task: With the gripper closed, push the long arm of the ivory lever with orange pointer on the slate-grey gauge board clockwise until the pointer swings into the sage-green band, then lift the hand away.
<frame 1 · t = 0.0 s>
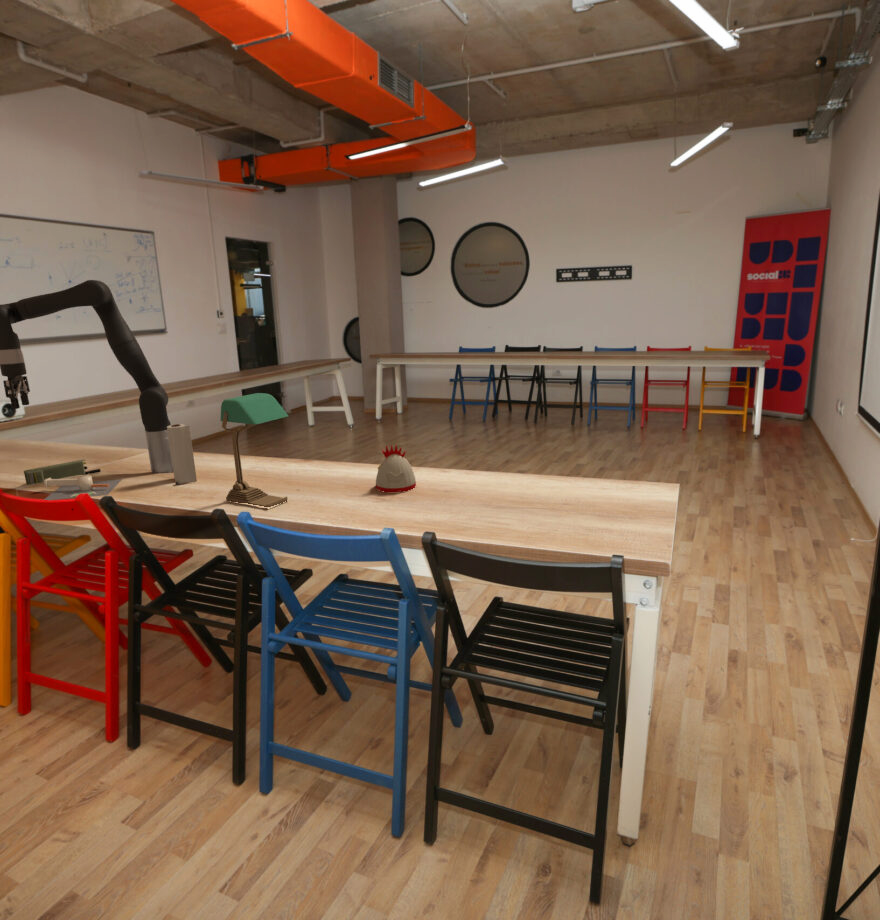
hand: (21, 406, 225), 29 cm above the table, tool pointing down, fingers open, 8 cm apart
banker's lamp: (258, 502, 203), on the table
gauge board: (87, 493, 219), on the table
paper towel roll: (184, 482, 228), on the table
lever with orange pointer: (77, 483, 218), point 4 cm above the table, hinge at 0.0°
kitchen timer: (396, 487, 214), on the table
handheld radio: (65, 480, 236), on the table
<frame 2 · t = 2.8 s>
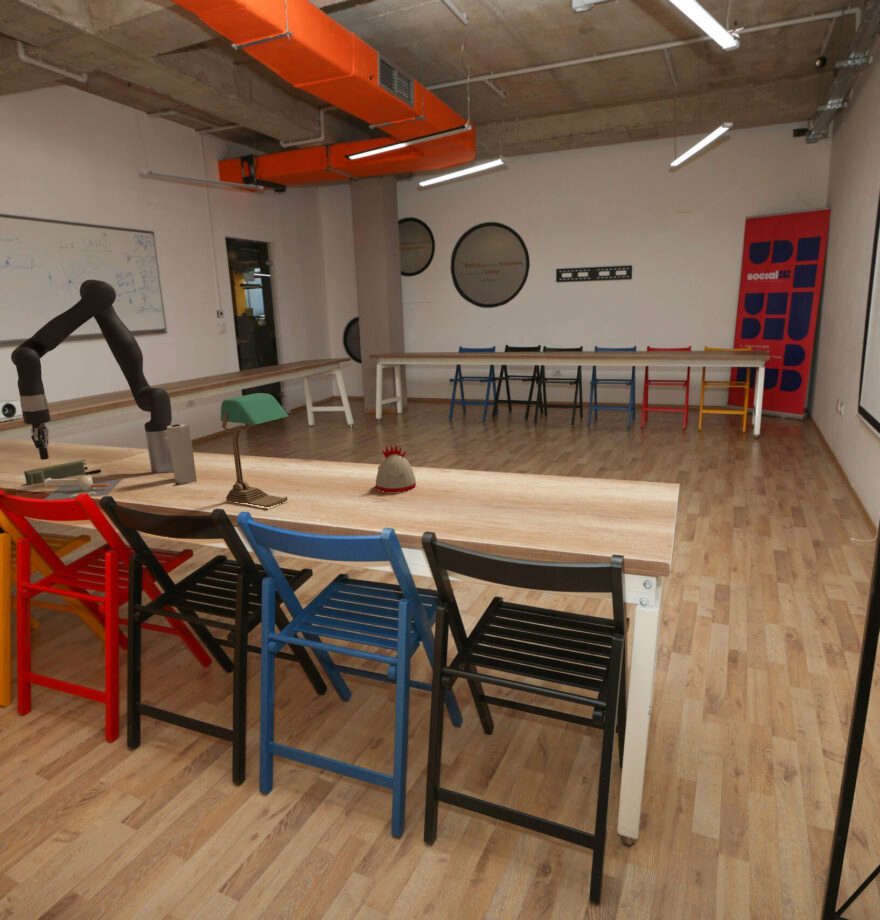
hand: (44, 459, 209), 14 cm above the table, tool pointing down, fingers closed
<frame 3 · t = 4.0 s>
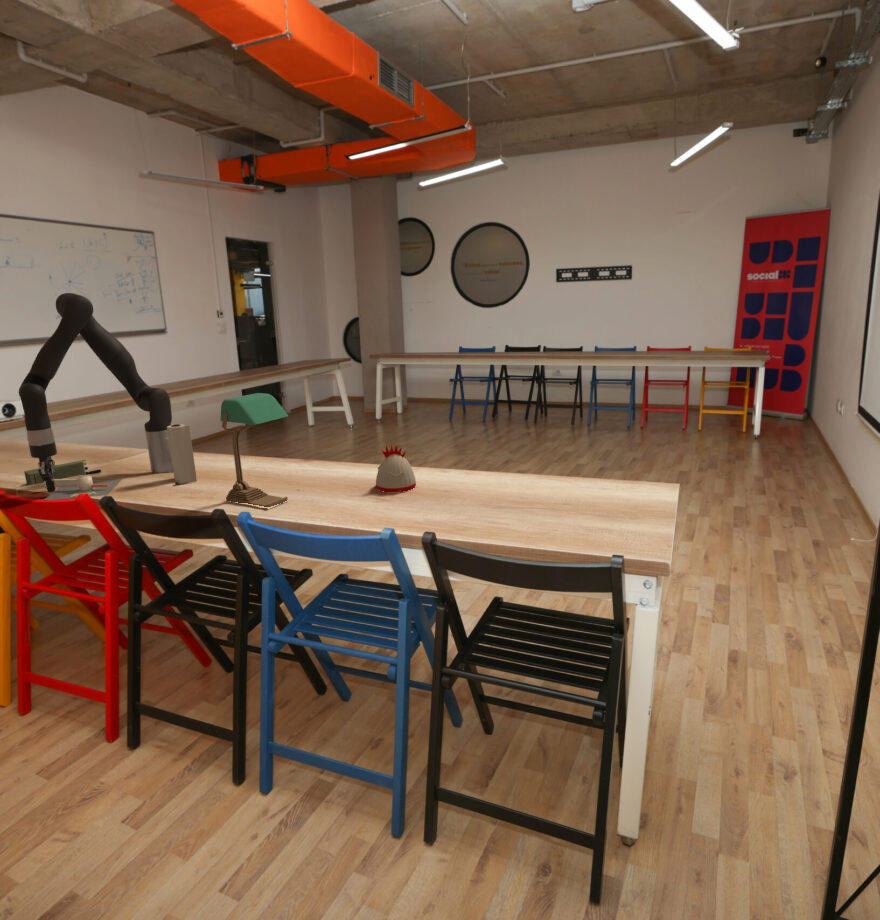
hand: (51, 491, 212), 3 cm above the table, tool pointing down, fingers closed
nothing on the table moved.
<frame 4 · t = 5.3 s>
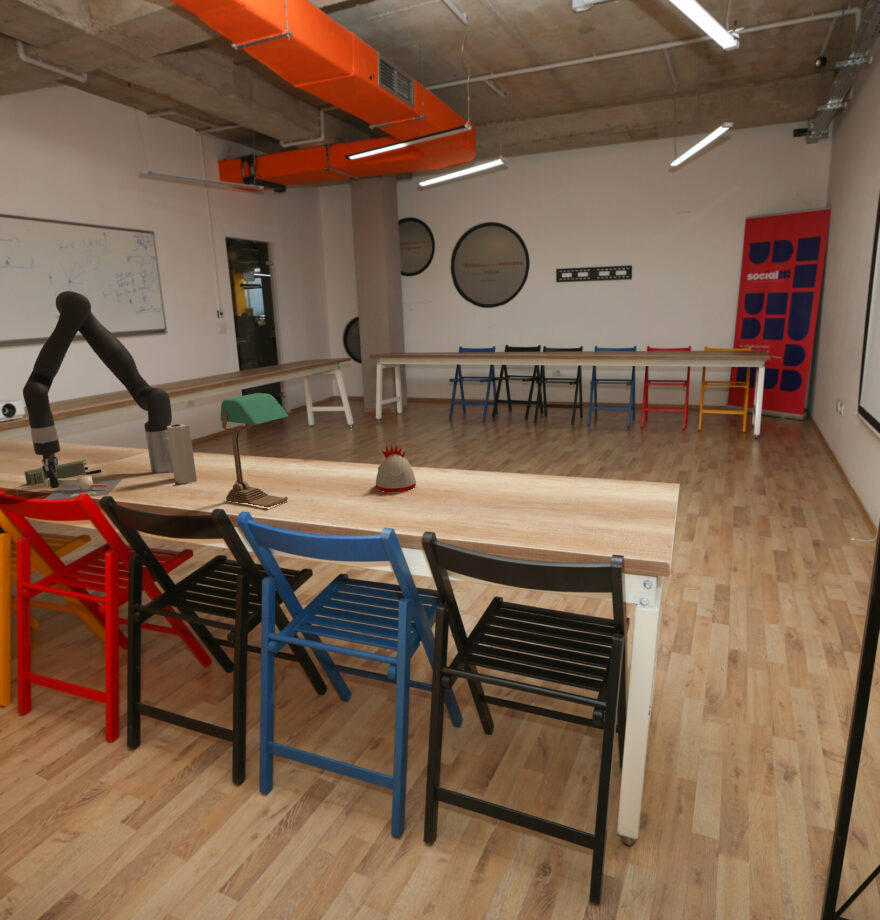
hand: (55, 487, 216), 3 cm above the table, tool pointing down, fingers closed
lever with orange pointer: (77, 483, 218), point 4 cm above the table, hinge at -2.6°, touching gripper
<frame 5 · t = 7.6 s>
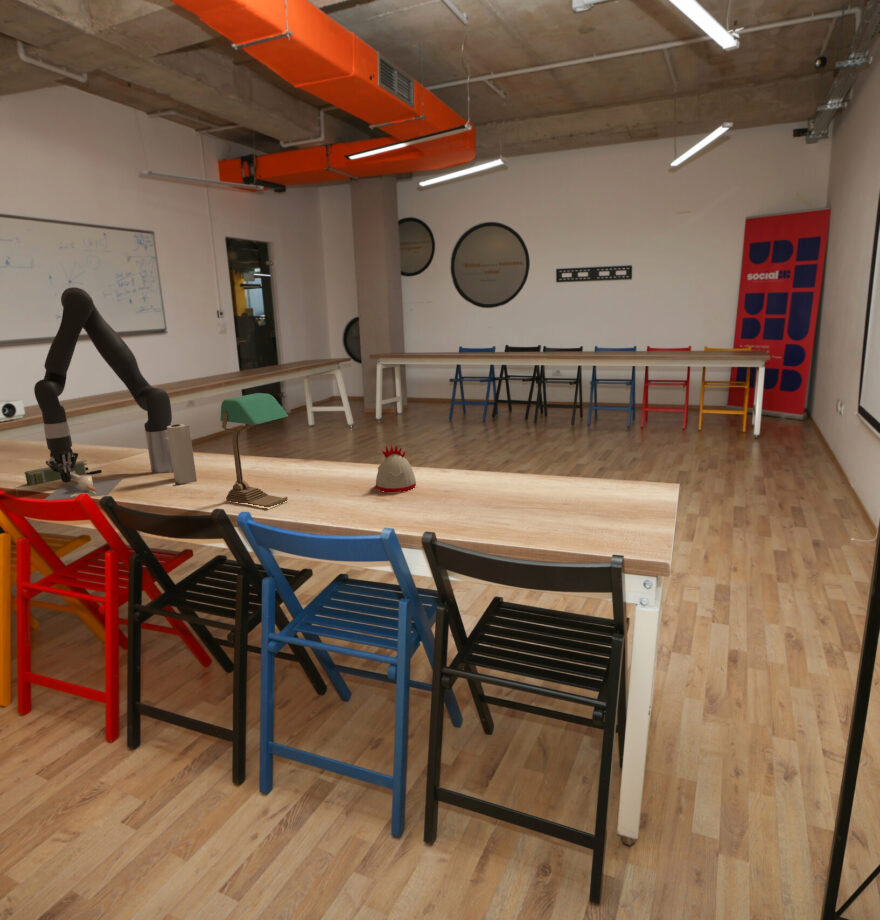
hand: (66, 481, 222), 3 cm above the table, tool pointing down, fingers closed
lever with orange pointer: (82, 481, 219), point 4 cm above the table, hinge at -39.1°, touching gripper
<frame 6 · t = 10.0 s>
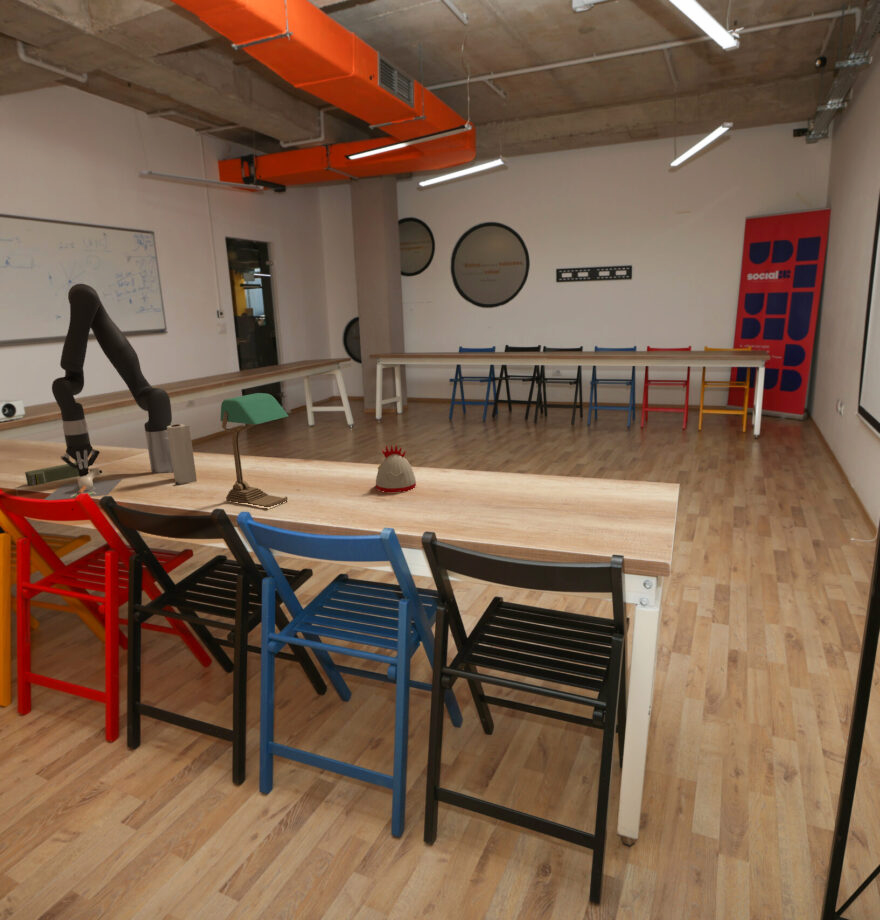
hand: (84, 478, 226), 3 cm above the table, tool pointing down, fingers closed
lever with orange pointer: (87, 480, 220), point 4 cm above the table, hinge at -71.9°, touching gripper
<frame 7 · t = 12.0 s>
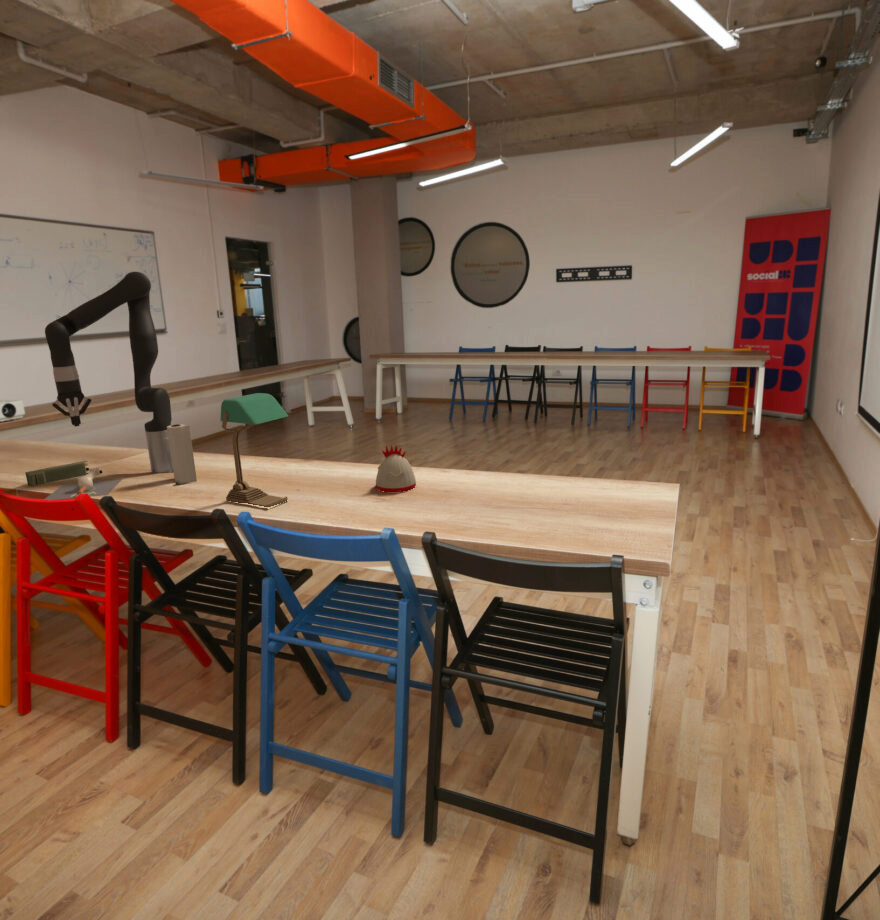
hand: (76, 425, 225), 22 cm above the table, tool pointing down, fingers closed
lever with orange pointer: (87, 480, 220), point 4 cm above the table, hinge at -72.0°
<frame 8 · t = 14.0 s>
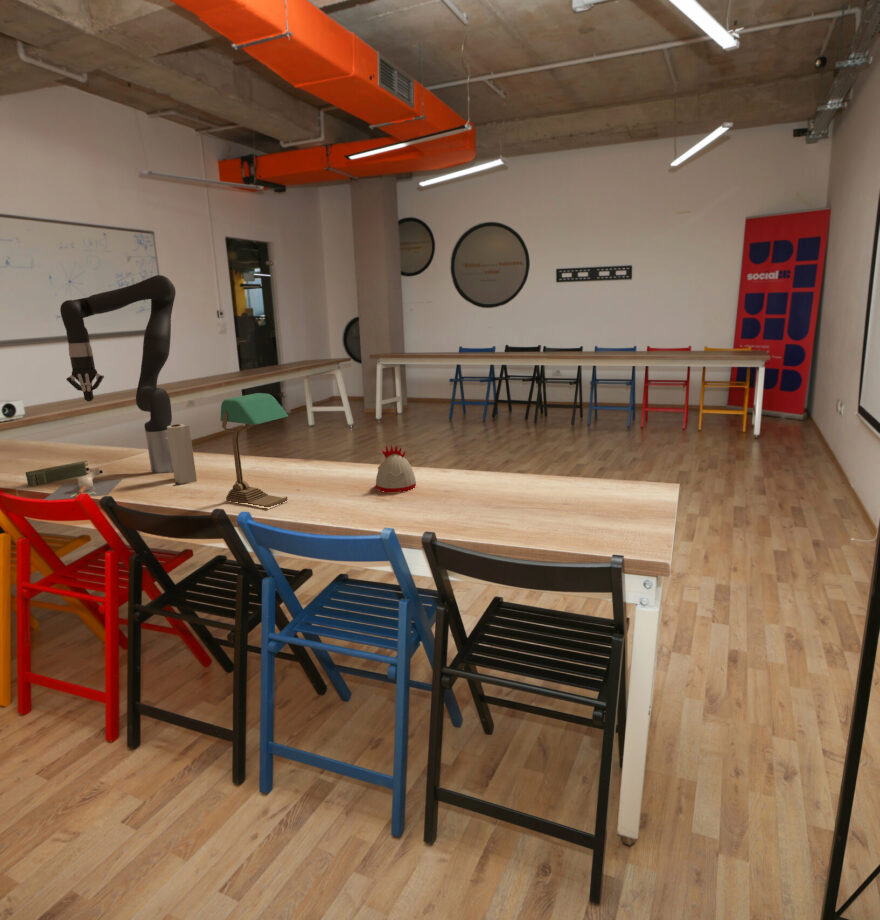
hand: (89, 401, 235), 29 cm above the table, tool pointing down, fingers closed
at the end: lever with orange pointer at -72° (first picture: +0°) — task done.
